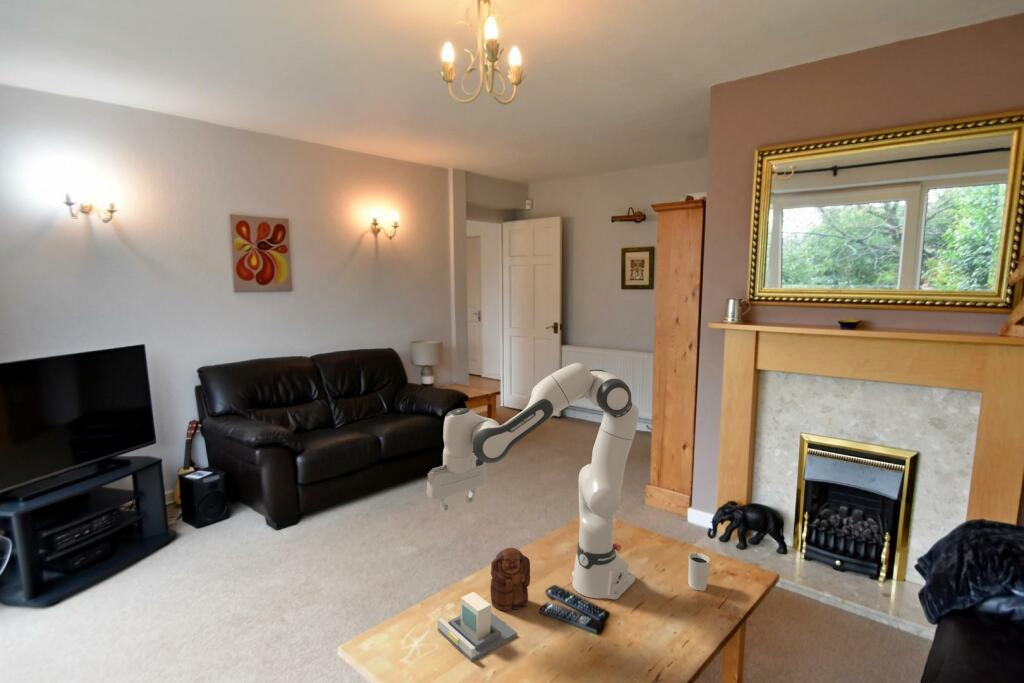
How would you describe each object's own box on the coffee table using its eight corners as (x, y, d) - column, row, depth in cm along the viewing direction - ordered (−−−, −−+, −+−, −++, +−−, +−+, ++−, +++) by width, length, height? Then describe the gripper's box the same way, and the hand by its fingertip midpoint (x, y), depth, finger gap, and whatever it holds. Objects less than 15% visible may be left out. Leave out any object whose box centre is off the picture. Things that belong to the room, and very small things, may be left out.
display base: (482, 608, 160) (482, 597, 160) (516, 635, 148) (517, 624, 148) (436, 631, 149) (436, 619, 149) (470, 662, 137) (470, 650, 137)
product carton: (473, 620, 153) (473, 591, 152) (490, 634, 147) (490, 604, 146) (459, 627, 150) (460, 597, 149) (476, 642, 144) (477, 611, 143)
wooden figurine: (495, 614, 157) (496, 558, 155) (489, 602, 163) (490, 547, 161) (531, 607, 161) (533, 551, 159) (524, 595, 167) (525, 541, 165)
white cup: (701, 594, 170) (703, 565, 169) (682, 585, 175) (684, 557, 174) (711, 587, 174) (713, 558, 173) (693, 578, 179) (695, 550, 178)
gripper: (434, 472, 149) (433, 519, 151) (490, 458, 162) (489, 500, 164) (422, 466, 154) (422, 511, 155) (477, 452, 167) (477, 494, 169)
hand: (457, 505), depth 160 cm, fingers open, 8 cm apart
